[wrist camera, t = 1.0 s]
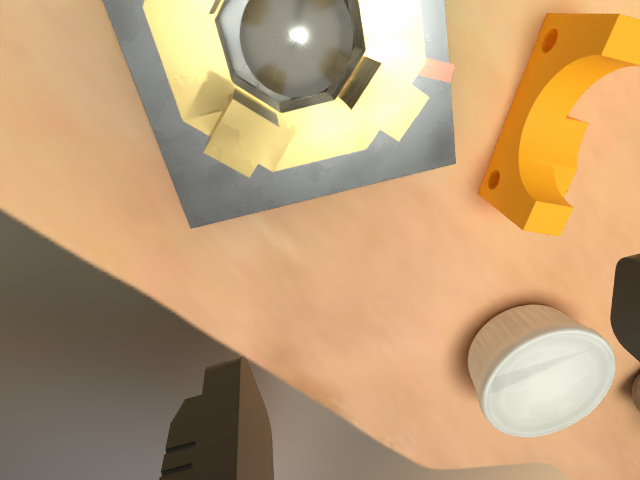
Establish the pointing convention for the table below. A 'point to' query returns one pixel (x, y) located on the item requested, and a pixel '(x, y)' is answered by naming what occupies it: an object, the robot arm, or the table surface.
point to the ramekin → (538, 370)
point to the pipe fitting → (636, 392)
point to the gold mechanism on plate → (283, 85)
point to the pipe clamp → (554, 116)
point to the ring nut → (298, 114)
